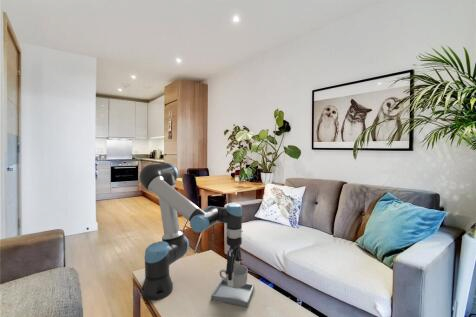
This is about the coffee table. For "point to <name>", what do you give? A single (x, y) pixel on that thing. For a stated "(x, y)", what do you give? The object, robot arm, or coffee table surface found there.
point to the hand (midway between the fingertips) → (234, 279)
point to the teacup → (237, 275)
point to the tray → (233, 294)
